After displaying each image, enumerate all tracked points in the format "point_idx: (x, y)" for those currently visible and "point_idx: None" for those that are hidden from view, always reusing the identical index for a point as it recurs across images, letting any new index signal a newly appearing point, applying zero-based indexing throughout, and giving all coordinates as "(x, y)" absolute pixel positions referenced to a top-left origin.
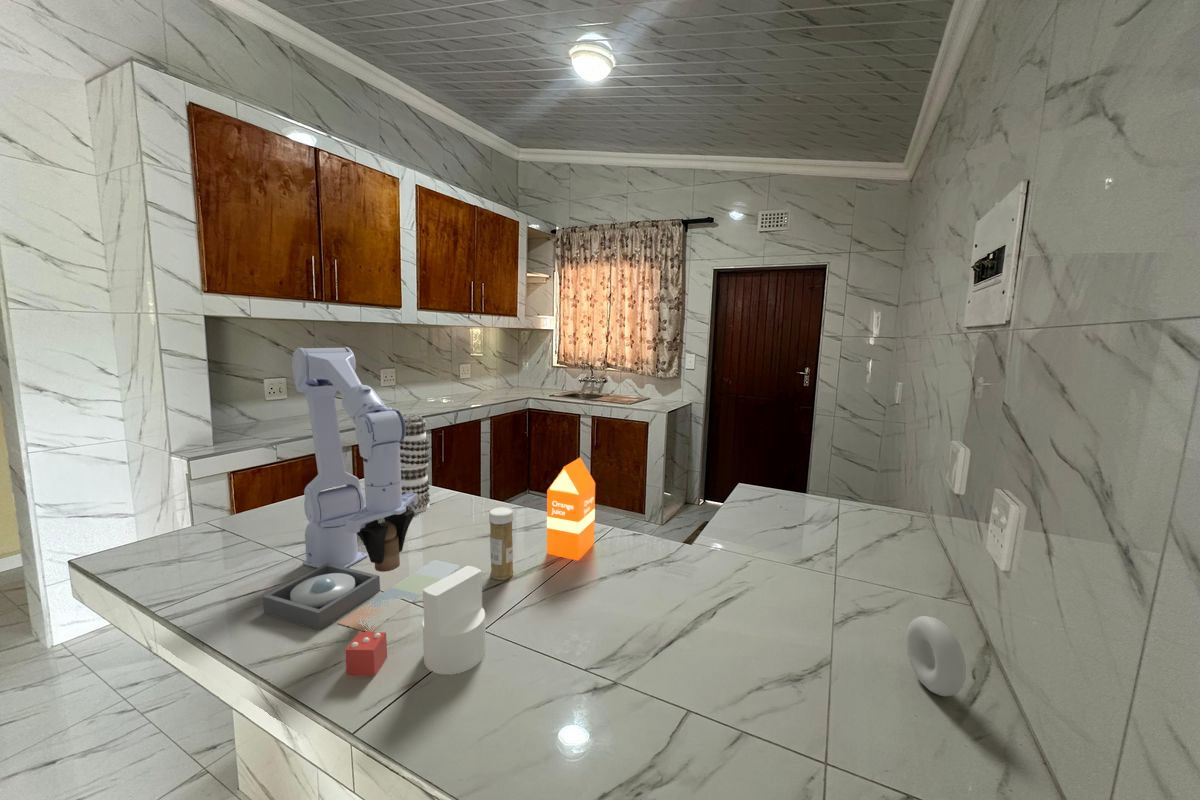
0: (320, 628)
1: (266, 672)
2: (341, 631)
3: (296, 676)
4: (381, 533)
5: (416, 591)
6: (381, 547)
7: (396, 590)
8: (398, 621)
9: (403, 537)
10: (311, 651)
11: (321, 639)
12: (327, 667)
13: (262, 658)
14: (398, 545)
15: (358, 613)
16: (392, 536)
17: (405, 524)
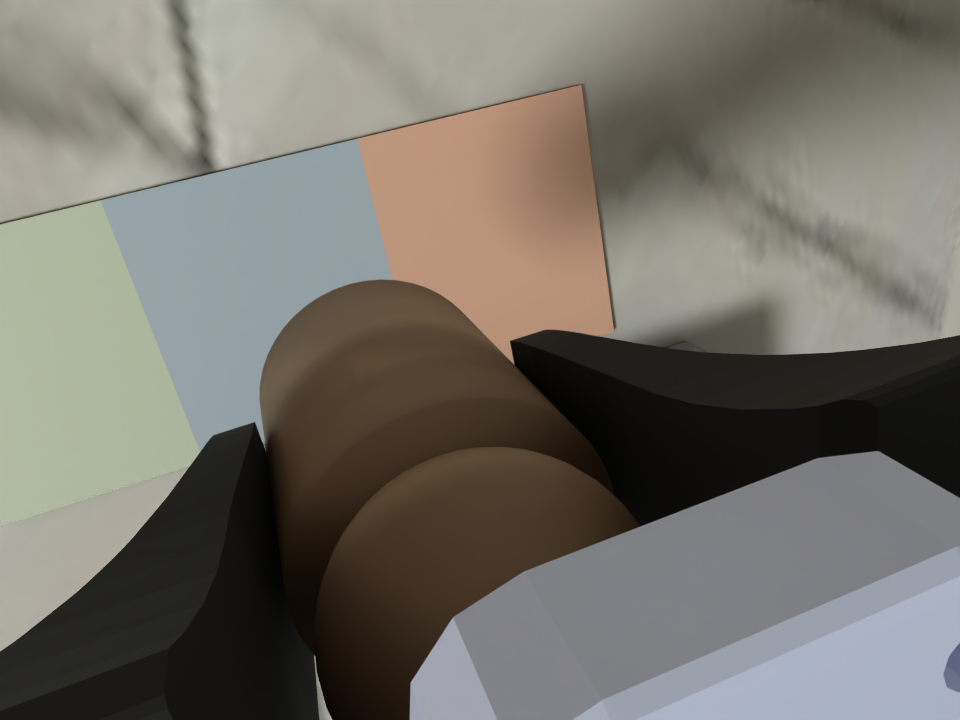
0: (686, 343)
1: (945, 213)
2: (642, 243)
3: (927, 72)
4: (900, 358)
5: (99, 280)
6: (649, 360)
7: (200, 401)
8: (407, 46)
9: (201, 496)
10: (798, 201)
11: (725, 258)
12: (845, 5)
13: (897, 322)
14: (320, 408)
15: (502, 331)
16: (474, 457)
17: (171, 597)
